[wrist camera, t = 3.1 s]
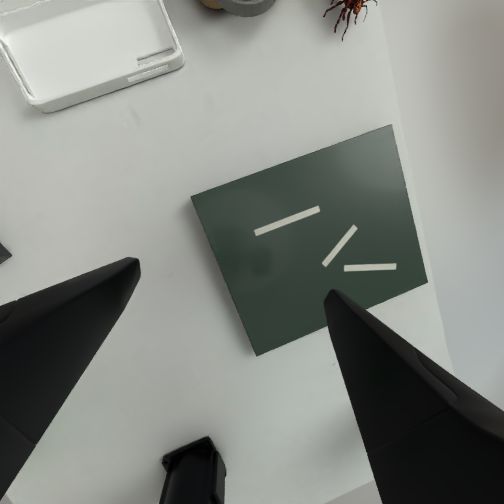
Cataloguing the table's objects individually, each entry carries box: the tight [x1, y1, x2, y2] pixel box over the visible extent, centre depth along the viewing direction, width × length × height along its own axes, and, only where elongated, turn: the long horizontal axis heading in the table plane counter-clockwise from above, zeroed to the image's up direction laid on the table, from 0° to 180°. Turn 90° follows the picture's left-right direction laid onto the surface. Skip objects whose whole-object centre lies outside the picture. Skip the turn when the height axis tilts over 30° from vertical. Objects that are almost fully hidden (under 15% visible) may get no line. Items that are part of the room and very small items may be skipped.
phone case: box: [0, 0, 185, 113], centre depth 18 cm, size 7×1×15 cm
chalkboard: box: [191, 124, 428, 356], centre depth 22 cm, size 24×20×2 cm
